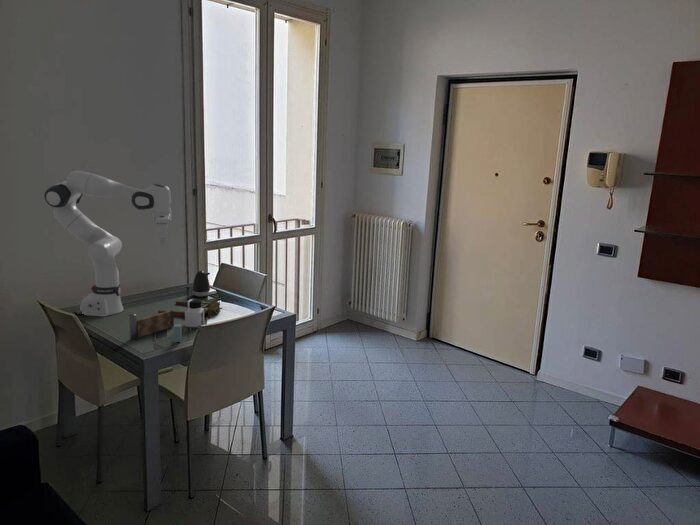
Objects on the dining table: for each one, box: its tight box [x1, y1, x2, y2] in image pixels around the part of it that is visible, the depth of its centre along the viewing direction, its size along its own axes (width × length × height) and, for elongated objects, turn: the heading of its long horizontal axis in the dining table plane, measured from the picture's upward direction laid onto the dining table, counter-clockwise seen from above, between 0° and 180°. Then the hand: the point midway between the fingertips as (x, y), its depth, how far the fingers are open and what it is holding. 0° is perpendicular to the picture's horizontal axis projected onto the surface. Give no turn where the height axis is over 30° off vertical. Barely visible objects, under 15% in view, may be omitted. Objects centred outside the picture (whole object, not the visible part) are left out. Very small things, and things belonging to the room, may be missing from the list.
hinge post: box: [128, 313, 138, 341], centre depth 237 cm, size 3×3×12 cm
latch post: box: [172, 323, 183, 343], centre depth 238 cm, size 3×3×8 cm
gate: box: [137, 309, 175, 338], centre depth 247 cm, size 20×2×8 cm, turn 147°
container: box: [184, 298, 205, 328], centre depth 260 cm, size 8×8×13 cm
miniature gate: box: [157, 297, 223, 320], centre depth 279 cm, size 27×6×30 cm
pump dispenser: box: [191, 270, 211, 298], centre depth 307 cm, size 10×10×15 cm
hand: (162, 244), depth 261 cm, fingers open, 8 cm apart
